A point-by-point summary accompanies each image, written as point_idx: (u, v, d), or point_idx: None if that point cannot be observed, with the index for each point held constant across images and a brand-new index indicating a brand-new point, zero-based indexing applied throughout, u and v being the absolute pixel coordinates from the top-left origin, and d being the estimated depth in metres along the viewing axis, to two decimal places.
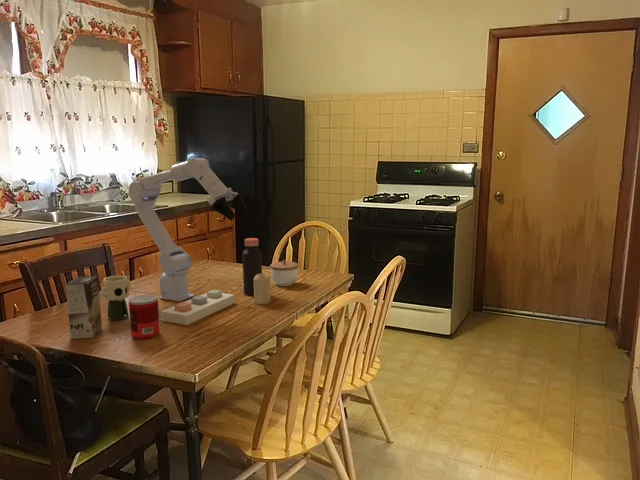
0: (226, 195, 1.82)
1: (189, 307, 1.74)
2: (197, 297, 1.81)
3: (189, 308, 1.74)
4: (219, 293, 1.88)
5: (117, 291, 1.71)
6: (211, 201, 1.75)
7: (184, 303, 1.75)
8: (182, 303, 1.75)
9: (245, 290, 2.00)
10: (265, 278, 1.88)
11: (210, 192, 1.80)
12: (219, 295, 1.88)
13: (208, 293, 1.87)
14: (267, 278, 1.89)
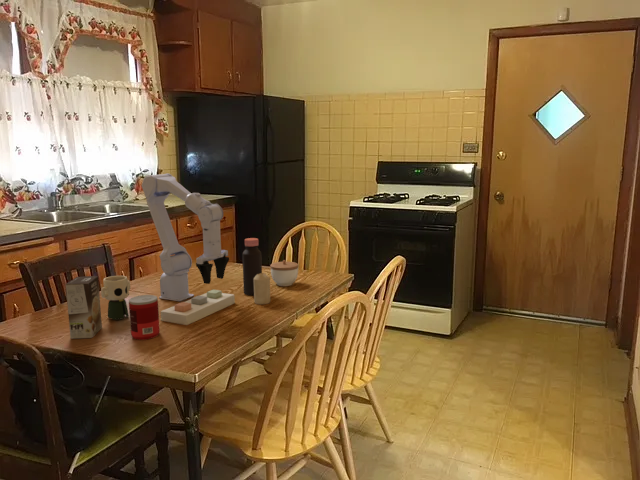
0: None
1: (189, 307, 1.74)
2: (197, 297, 1.81)
3: (189, 308, 1.74)
4: (219, 293, 1.88)
5: (117, 291, 1.71)
6: (199, 262, 1.80)
7: (184, 303, 1.75)
8: (182, 303, 1.75)
9: (245, 290, 2.00)
10: (265, 278, 1.88)
11: (205, 246, 1.83)
12: (219, 295, 1.88)
13: (208, 293, 1.87)
14: (267, 278, 1.89)
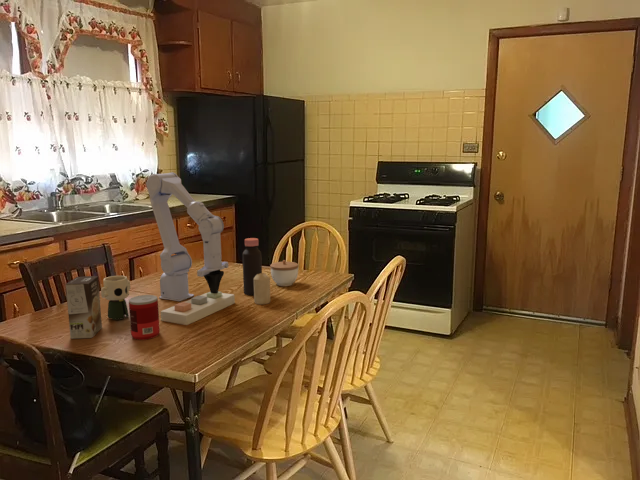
0: None
1: (189, 307, 1.74)
2: (197, 297, 1.81)
3: (189, 308, 1.74)
4: (219, 294, 1.88)
5: (117, 291, 1.71)
6: (199, 274, 1.80)
7: (184, 303, 1.75)
8: (182, 303, 1.75)
9: (245, 290, 2.00)
10: (265, 278, 1.88)
11: (205, 258, 1.84)
12: (219, 296, 1.88)
13: (208, 294, 1.87)
14: (267, 278, 1.89)
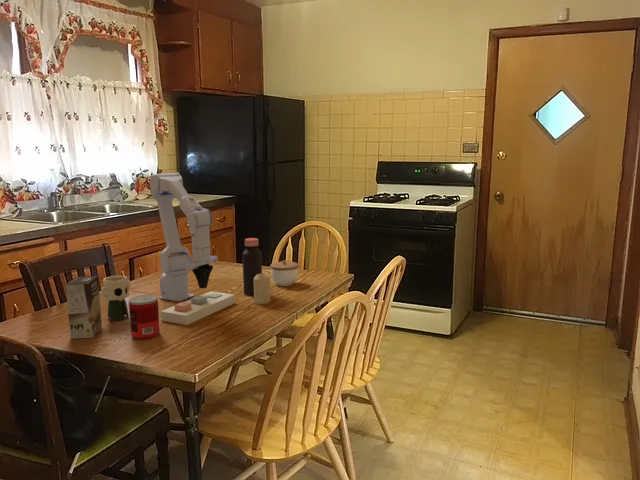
0: None
1: (189, 307, 1.74)
2: (197, 297, 1.81)
3: (189, 308, 1.74)
4: None
5: (117, 291, 1.71)
6: (187, 269, 1.75)
7: (184, 303, 1.75)
8: (182, 303, 1.75)
9: (245, 290, 2.00)
10: (265, 278, 1.88)
11: (193, 252, 1.78)
12: None
13: (208, 297, 1.87)
14: (267, 278, 1.89)
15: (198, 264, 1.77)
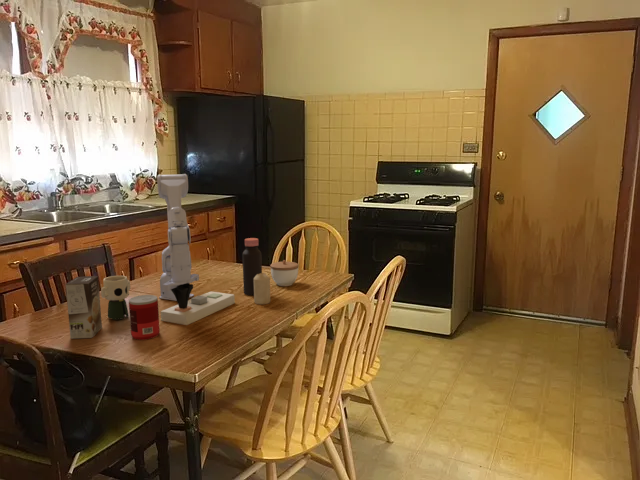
0: None
1: None
2: (197, 297, 1.81)
3: None
4: None
5: (117, 291, 1.71)
6: (165, 289, 1.66)
7: None
8: None
9: (245, 290, 2.00)
10: (265, 278, 1.88)
11: (172, 271, 1.70)
12: None
13: (208, 297, 1.87)
14: (267, 278, 1.89)
15: (177, 284, 1.68)
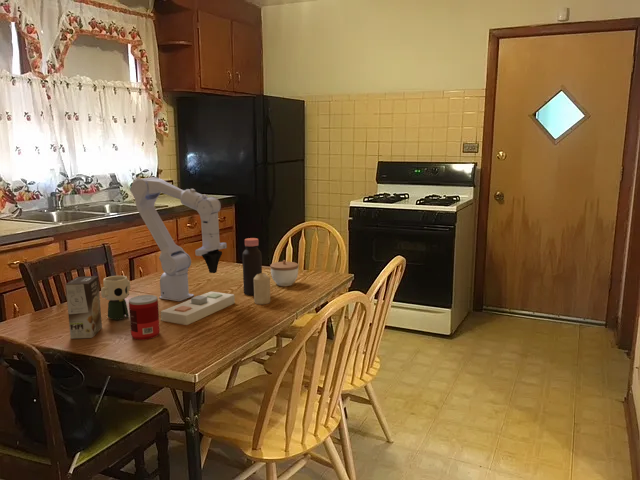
0: None
1: None
2: (197, 297, 1.81)
3: None
4: None
5: (117, 291, 1.71)
6: (197, 254, 1.83)
7: (184, 307, 1.75)
8: (182, 307, 1.75)
9: (245, 290, 2.00)
10: (265, 278, 1.88)
11: (203, 238, 1.87)
12: None
13: (208, 297, 1.87)
14: (267, 278, 1.89)
15: (208, 249, 1.85)
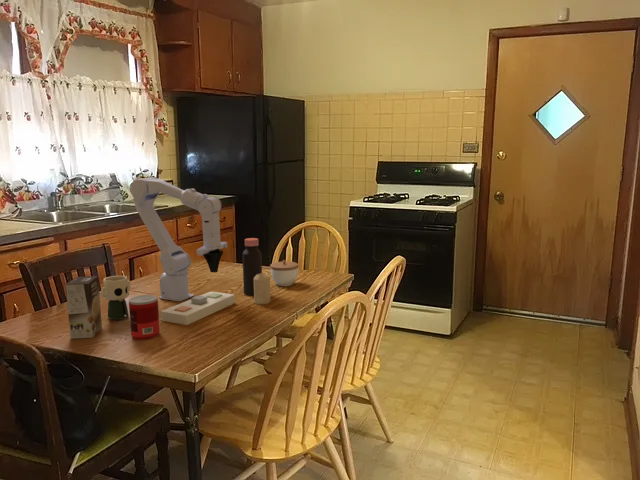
0: None
1: None
2: (197, 297, 1.81)
3: None
4: None
5: (117, 291, 1.71)
6: (199, 253, 1.84)
7: (184, 307, 1.75)
8: (182, 307, 1.75)
9: (245, 290, 2.00)
10: (265, 278, 1.88)
11: (204, 238, 1.87)
12: None
13: (208, 297, 1.87)
14: (267, 278, 1.89)
15: (209, 249, 1.85)
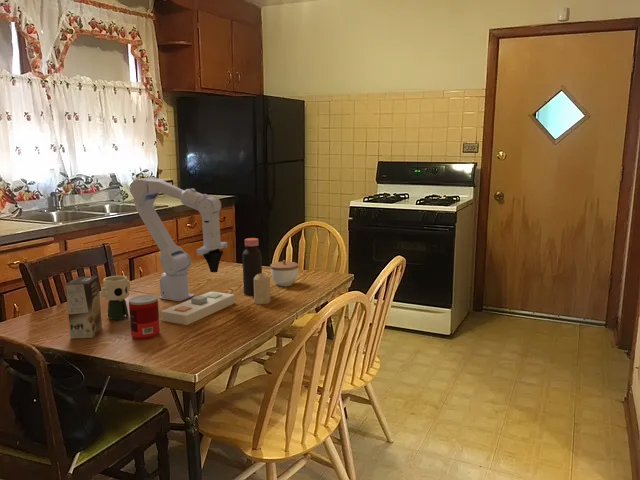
0: None
1: None
2: (197, 297, 1.81)
3: None
4: None
5: (117, 291, 1.71)
6: (199, 253, 1.84)
7: (184, 307, 1.75)
8: (182, 307, 1.75)
9: (245, 290, 2.00)
10: (265, 278, 1.88)
11: (204, 238, 1.87)
12: None
13: (208, 297, 1.87)
14: (267, 278, 1.89)
15: (209, 249, 1.85)
